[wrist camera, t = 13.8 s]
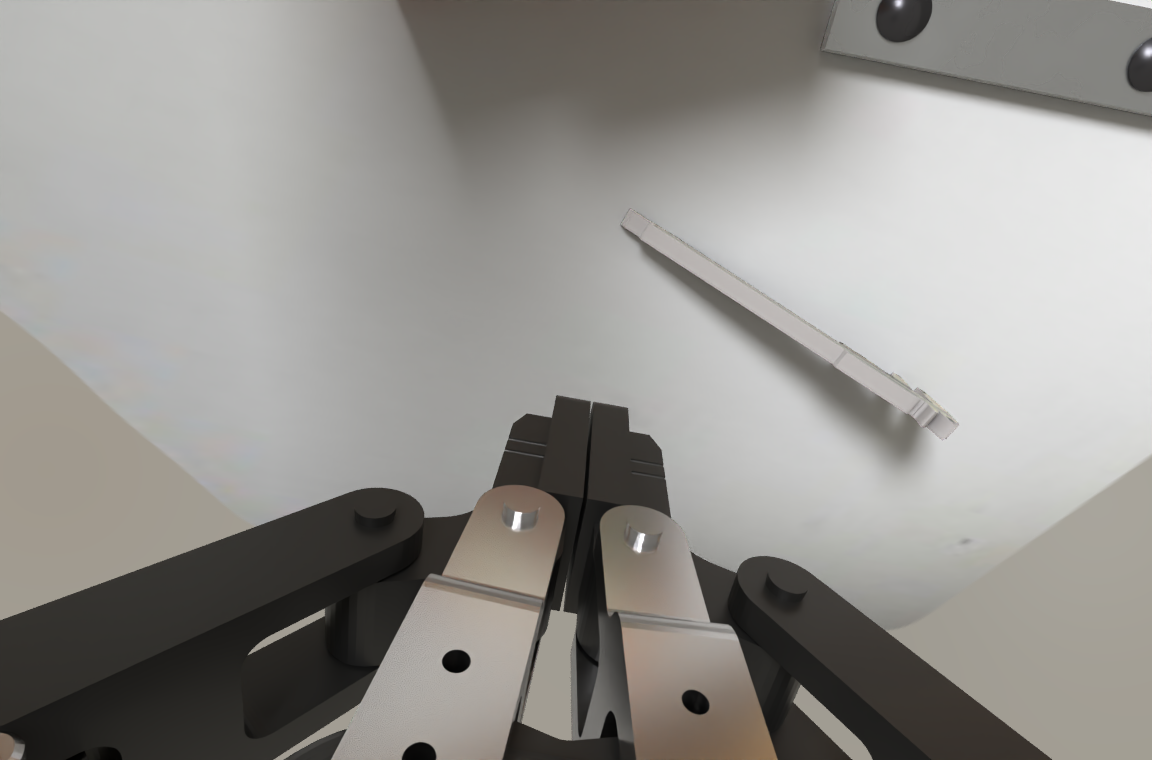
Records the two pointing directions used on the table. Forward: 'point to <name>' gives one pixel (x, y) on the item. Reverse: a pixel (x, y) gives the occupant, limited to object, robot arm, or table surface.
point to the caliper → (796, 327)
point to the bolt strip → (1009, 44)
